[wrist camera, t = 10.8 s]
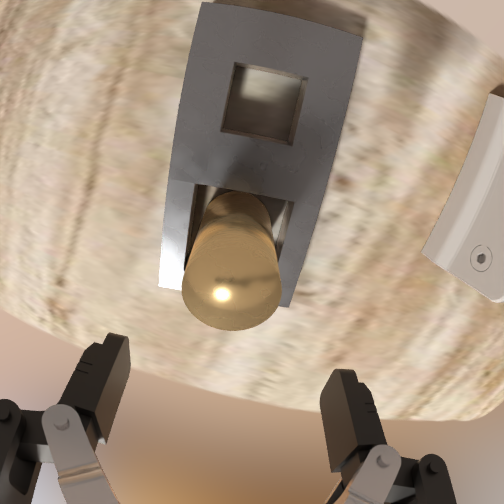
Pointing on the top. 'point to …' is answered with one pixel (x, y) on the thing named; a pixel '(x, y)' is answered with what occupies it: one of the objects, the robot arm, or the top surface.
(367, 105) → the top surface
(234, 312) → the cylinder
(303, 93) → the grey flat block
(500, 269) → the grey curved housing
